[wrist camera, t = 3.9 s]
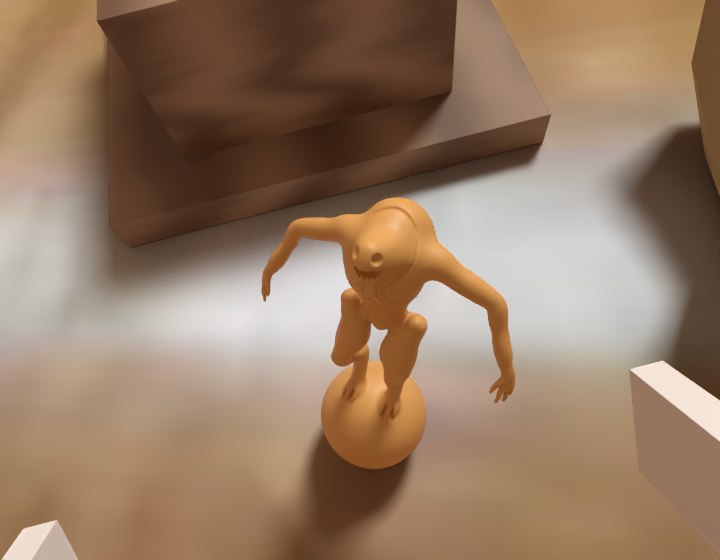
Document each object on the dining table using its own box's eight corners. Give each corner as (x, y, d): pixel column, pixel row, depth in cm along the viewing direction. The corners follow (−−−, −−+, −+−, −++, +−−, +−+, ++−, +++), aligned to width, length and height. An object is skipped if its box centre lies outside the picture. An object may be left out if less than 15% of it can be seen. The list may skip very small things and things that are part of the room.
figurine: (269, 423, 22) (124, 320, 12) (335, 304, 24) (263, 123, 14) (453, 519, 20) (485, 500, 9) (508, 378, 22) (586, 227, 11)
